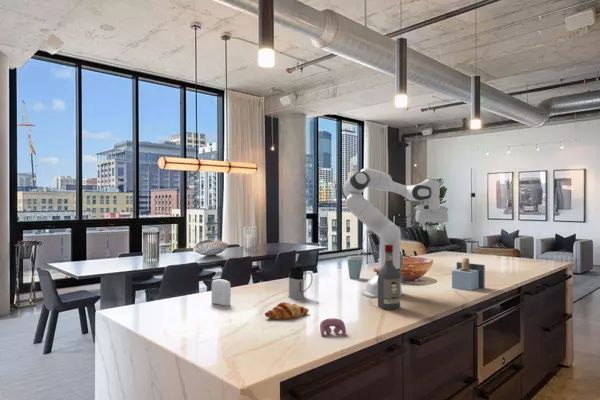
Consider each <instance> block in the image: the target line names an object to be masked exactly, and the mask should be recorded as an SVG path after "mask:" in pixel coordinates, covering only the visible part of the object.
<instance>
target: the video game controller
mask: <svg viewBox="0 0 600 400" xmlns="http://www.w3.org/2000/svg"><path fill="white" fill-rule="evenodd" d="M331 327H334V328H333V332H334V334H335V333H336V335H338V334H339V333H340V331H341V333H342V335H343V336H344V335H345V336H346V335H347V331H346V330H347V329H346V324H345V322H344V321H343V320H342V319H341V318H340V319H338V318H335V317H333V318H326V319H323V320H322V321H321V322H320V325H319V330H320V335H321V337H324V336H325V333H326V334H328V335H330V334H332V328H331ZM337 333H338V334H337Z"/></svg>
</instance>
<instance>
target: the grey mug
mask: <svg viewBox="0 0 600 400" xmlns="http://www.w3.org/2000/svg"><path fill="white" fill-rule="evenodd" d="M308 274H309V275H310V276H311V281H310V284H309V285H308V287H307V288H305V289H304V287H305V286H304V284H305V283H304V281H306V278H307V277H306V276H307V275H308ZM312 283H313V274H312V273H311V272H309V271H308V272H306V273H305V274H304V268H301V267H291V268H289V269H288V299H293V300H294V299H295V300H297V299H298V300H300V299H304V298H305V294H304V293H305V292H306V291H307V290H308V289H309V288H310V287H311V285H312Z"/></svg>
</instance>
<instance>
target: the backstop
mask: <svg viewBox="0 0 600 400" xmlns="http://www.w3.org/2000/svg"><path fill="white" fill-rule="evenodd" d="M457 269H462V261H461V262H460V261H458V262H456V270H457ZM485 269H486V265H485V264H480V263H470V262H469V270H477V271H479V288H478V289H485V288H486V286H485V285H486V284H485V283H486V282H485V281H486V279H485V278H486V276H485V275H486V273H485V272H486V270H485Z"/></svg>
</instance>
